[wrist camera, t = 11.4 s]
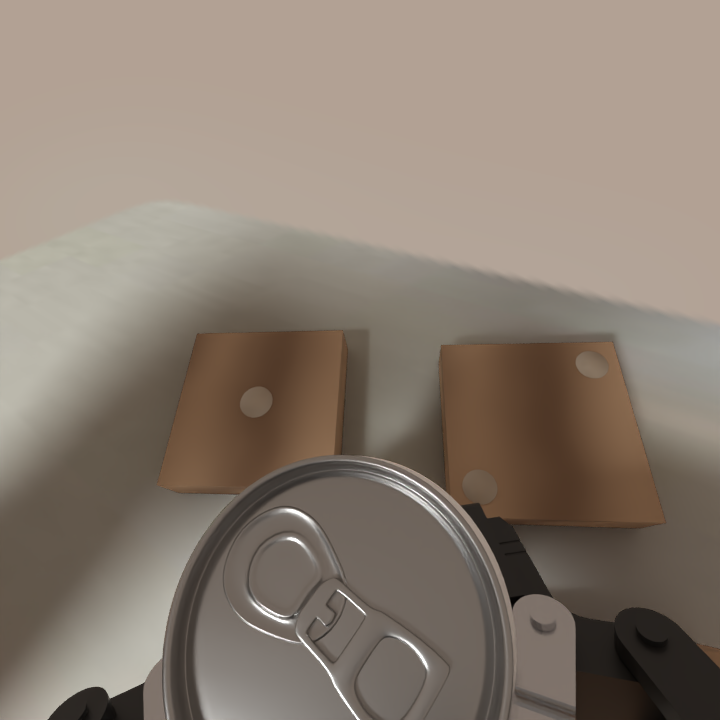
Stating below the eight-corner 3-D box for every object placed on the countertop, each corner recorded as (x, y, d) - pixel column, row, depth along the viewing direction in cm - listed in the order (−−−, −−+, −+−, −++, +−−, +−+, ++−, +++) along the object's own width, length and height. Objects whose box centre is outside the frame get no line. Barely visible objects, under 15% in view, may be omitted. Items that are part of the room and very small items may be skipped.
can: (366, 484, 19) (315, 373, 9) (488, 582, 17) (621, 592, 6) (272, 608, 17) (57, 660, 7) (395, 738, 15) (363, 1142, 4)
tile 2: (447, 522, 18) (452, 516, 16) (438, 363, 22) (441, 344, 20) (639, 528, 17) (666, 522, 15) (595, 361, 21) (613, 341, 19)
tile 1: (178, 492, 20) (156, 484, 18) (212, 351, 24) (196, 333, 22) (338, 496, 19) (331, 488, 17) (347, 349, 23) (342, 329, 21)
